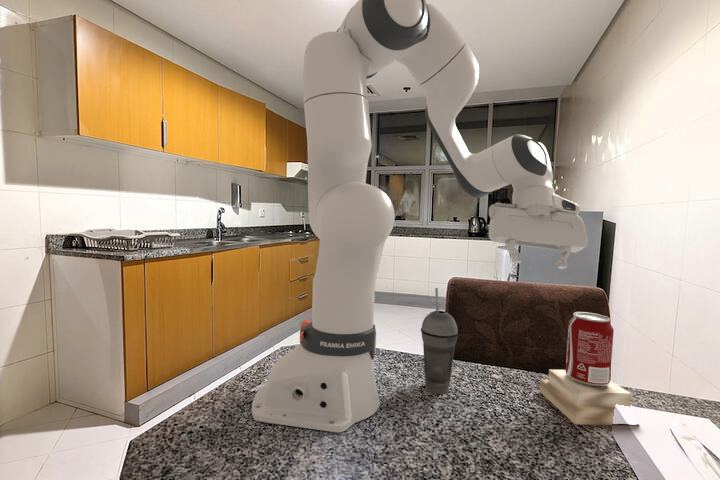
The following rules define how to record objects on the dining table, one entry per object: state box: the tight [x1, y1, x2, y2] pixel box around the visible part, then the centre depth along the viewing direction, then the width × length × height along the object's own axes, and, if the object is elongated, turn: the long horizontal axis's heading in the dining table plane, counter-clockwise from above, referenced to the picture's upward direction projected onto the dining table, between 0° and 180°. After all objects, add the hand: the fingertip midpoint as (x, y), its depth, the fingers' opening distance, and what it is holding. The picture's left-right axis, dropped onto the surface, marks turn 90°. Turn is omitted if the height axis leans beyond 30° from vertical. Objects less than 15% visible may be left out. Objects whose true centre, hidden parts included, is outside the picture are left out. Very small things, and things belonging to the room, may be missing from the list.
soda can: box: [565, 311, 614, 387], centre depth 63 cm, size 7×7×12 cm
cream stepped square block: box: [539, 368, 635, 426], centre depth 63 cm, size 11×11×5 cm
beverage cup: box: [420, 287, 459, 395], centre depth 68 cm, size 7×7×20 cm
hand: (539, 265), depth 72 cm, fingers open, 8 cm apart
